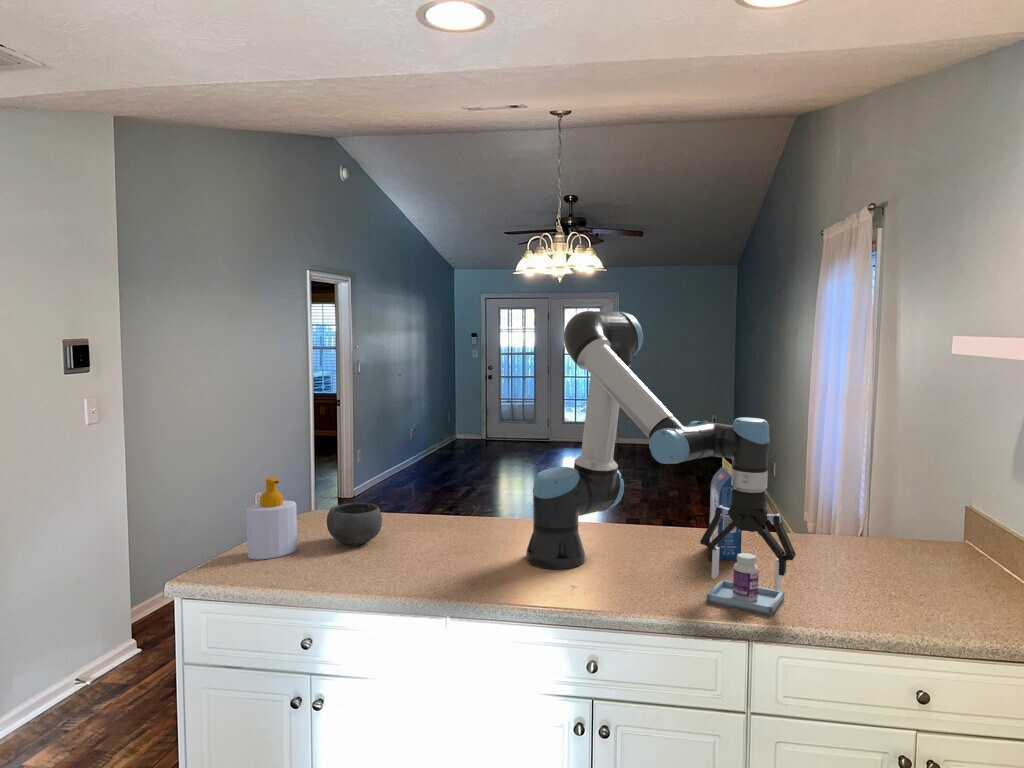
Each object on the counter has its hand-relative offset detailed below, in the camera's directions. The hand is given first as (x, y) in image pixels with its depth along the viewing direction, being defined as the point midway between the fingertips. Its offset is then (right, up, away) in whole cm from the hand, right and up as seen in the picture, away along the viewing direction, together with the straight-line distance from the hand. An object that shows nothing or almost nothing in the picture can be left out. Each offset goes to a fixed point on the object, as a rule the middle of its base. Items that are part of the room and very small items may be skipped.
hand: (745, 582), depth 163 cm
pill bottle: (0, -4, 0) cm, 4 cm away
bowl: (-96, 0, +42) cm, 104 cm away
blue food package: (+5, -1, +34) cm, 34 cm away
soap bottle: (-115, -1, +32) cm, 119 cm away
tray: (0, -4, 0) cm, 4 cm away
